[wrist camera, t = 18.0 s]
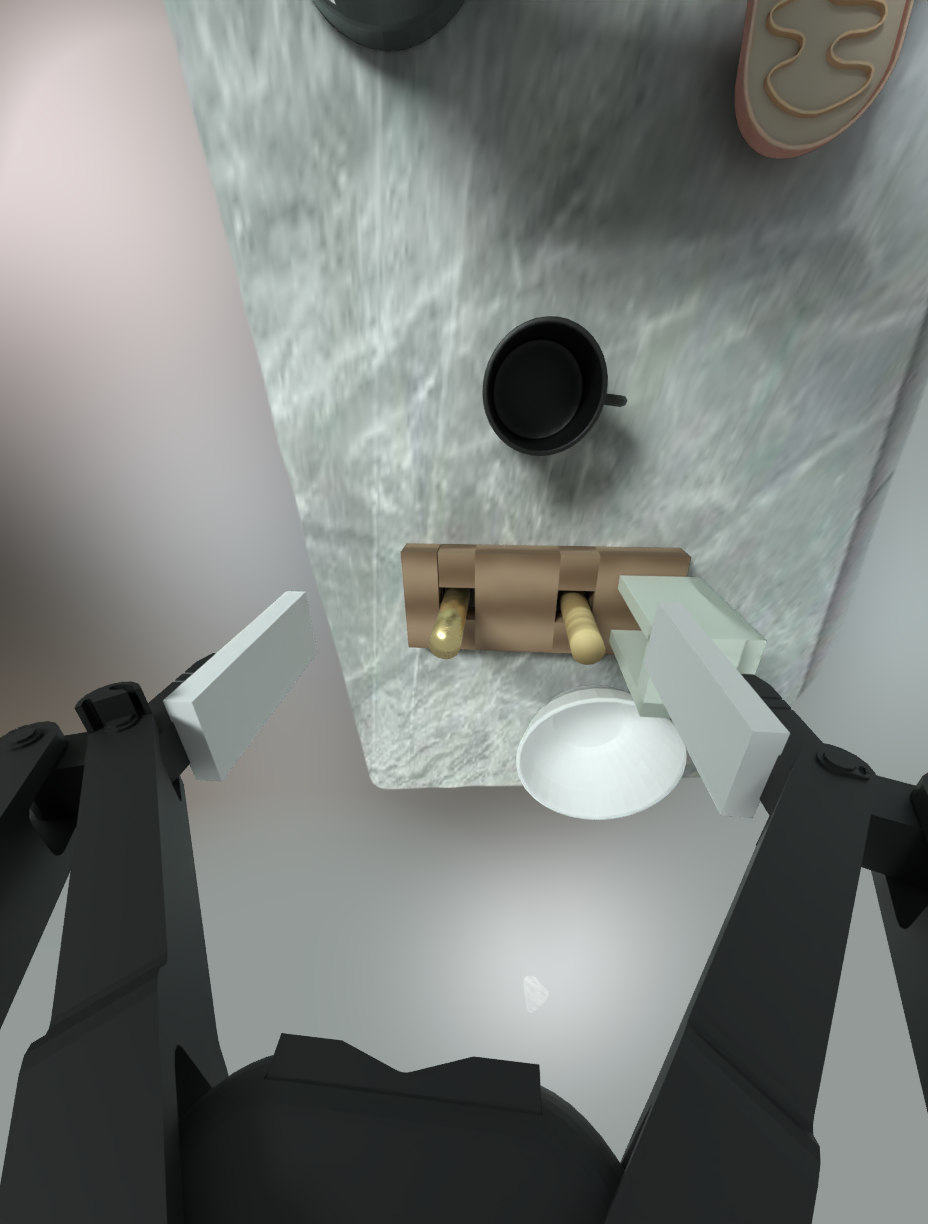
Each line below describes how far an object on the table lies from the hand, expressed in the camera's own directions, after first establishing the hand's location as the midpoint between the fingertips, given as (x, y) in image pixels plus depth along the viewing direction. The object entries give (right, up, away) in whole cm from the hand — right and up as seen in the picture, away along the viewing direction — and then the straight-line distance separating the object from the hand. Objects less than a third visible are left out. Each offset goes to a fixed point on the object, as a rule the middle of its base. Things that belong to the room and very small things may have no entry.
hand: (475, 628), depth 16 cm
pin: (-1, +3, +34) cm, 35 cm away
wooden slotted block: (+8, +3, +34) cm, 35 cm away
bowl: (+16, -14, +41) cm, 46 cm away
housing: (+20, +1, +30) cm, 36 cm away
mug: (+8, +21, +24) cm, 33 cm away
